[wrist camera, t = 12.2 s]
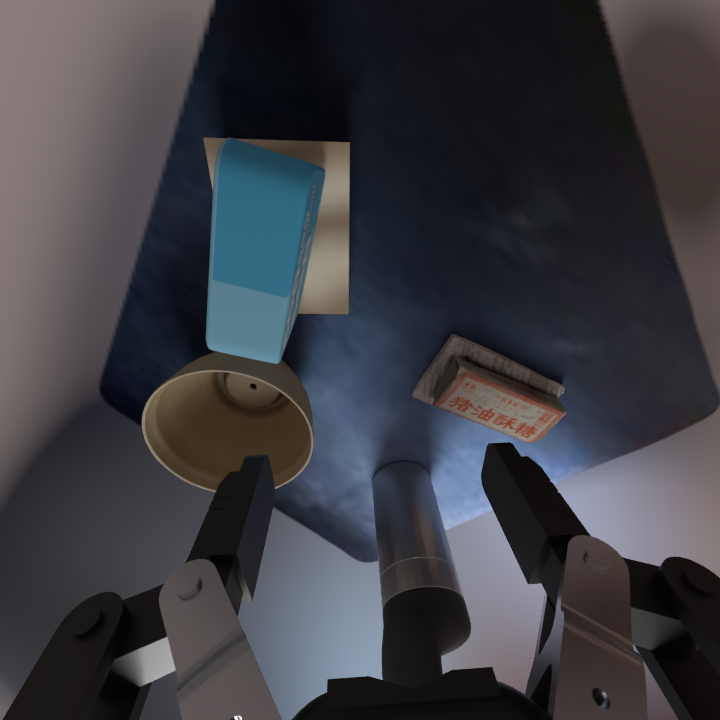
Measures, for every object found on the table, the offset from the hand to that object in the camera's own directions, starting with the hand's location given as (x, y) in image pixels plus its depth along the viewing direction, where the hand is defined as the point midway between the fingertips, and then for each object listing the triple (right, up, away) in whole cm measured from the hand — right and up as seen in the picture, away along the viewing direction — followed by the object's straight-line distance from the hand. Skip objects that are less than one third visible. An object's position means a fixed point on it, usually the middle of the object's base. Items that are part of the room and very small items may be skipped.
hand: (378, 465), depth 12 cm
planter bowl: (-14, +1, +29) cm, 32 cm away
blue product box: (-7, +15, +16) cm, 23 cm away
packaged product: (+16, 0, +32) cm, 35 cm away
